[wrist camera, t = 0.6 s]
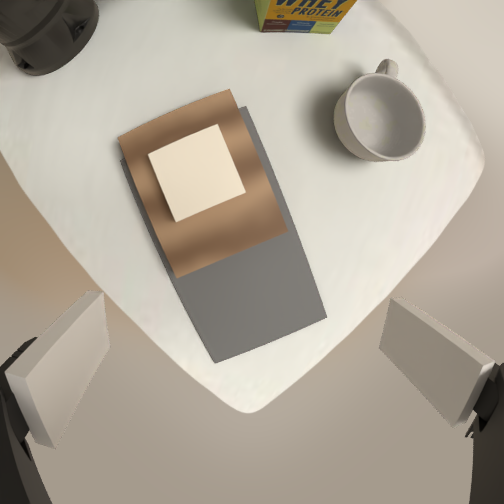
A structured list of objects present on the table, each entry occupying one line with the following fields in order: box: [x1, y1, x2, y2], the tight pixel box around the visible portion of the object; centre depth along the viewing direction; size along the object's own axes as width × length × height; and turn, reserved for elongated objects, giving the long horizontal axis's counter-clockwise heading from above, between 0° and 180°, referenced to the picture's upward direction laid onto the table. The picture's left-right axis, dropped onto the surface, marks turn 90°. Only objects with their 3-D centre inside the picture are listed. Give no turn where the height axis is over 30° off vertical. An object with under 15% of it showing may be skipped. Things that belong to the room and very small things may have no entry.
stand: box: [118, 89, 288, 278], centre depth 34 cm, size 18×14×3 cm
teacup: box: [334, 59, 426, 162], centre depth 32 cm, size 14×11×8 cm
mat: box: [120, 106, 327, 363], centre depth 37 cm, size 30×17×1 cm, turn 22°
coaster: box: [148, 124, 246, 222], centre depth 31 cm, size 8×8×2 cm
